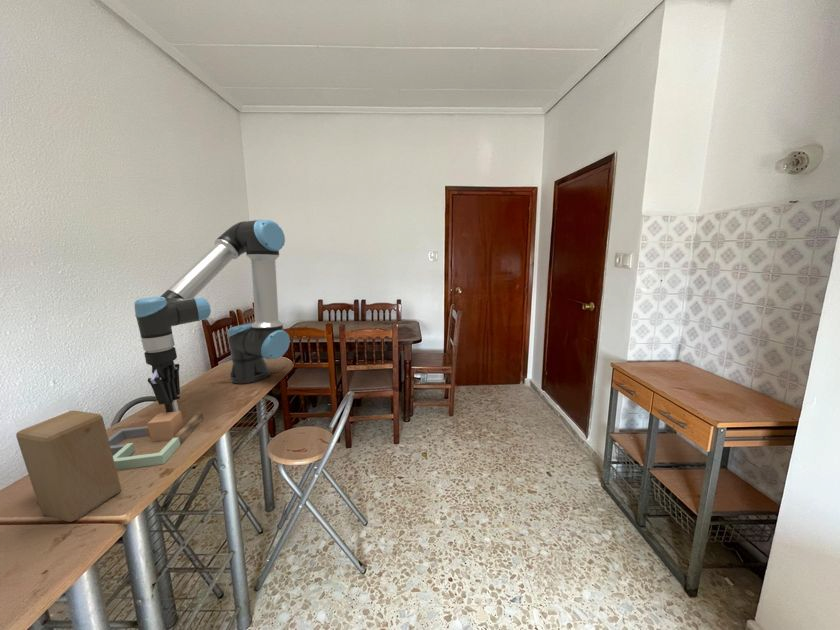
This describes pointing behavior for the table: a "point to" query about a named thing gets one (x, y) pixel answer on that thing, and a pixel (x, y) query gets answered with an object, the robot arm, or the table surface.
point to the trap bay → (124, 437)
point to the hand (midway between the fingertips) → (174, 420)
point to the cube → (165, 426)
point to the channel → (185, 427)
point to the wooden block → (69, 464)
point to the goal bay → (143, 456)
